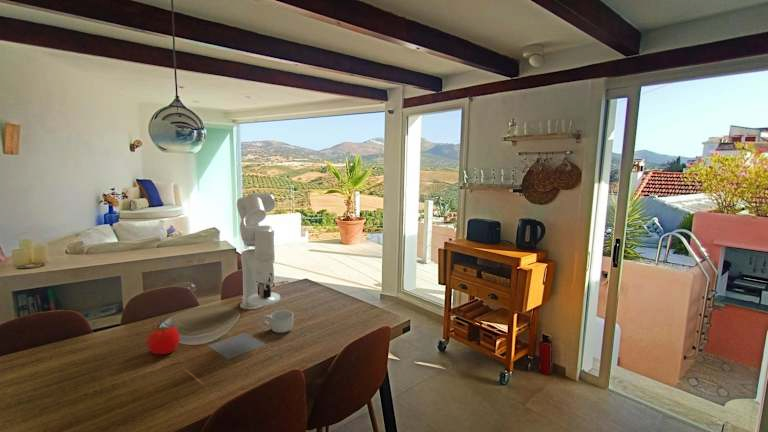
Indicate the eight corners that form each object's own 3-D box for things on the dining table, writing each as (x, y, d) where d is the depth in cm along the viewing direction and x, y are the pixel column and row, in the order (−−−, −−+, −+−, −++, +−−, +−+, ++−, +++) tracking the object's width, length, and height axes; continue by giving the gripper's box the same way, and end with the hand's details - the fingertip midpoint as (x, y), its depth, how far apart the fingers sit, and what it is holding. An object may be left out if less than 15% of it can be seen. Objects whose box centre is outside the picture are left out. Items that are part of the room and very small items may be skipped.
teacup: (296, 326, 177) (296, 310, 176) (288, 336, 166) (288, 319, 165) (269, 324, 178) (269, 309, 177) (259, 334, 168) (259, 317, 167)
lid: (241, 299, 164) (241, 283, 163) (269, 292, 174) (269, 276, 173) (258, 308, 155) (258, 291, 154) (286, 299, 165) (286, 283, 164)
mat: (207, 346, 155) (207, 345, 155) (244, 333, 168) (244, 332, 168) (228, 360, 144) (227, 359, 144) (265, 345, 157) (265, 344, 157)
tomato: (187, 349, 152) (186, 325, 151) (160, 361, 142) (159, 336, 141) (168, 342, 157) (167, 319, 156) (140, 354, 147) (139, 329, 146)
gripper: (246, 254, 164) (246, 293, 167) (266, 261, 154) (267, 303, 156) (261, 251, 170) (261, 289, 173) (282, 258, 159) (282, 298, 162)
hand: (264, 295), depth 164 cm, fingers closed on lid, 4 cm apart
